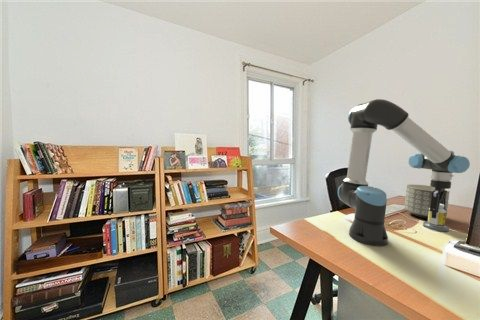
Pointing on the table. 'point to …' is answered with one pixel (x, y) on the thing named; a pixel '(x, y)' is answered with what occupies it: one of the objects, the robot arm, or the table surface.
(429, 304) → the table surface
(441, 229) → the coaster
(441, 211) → the pill bottle
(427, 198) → the planter
